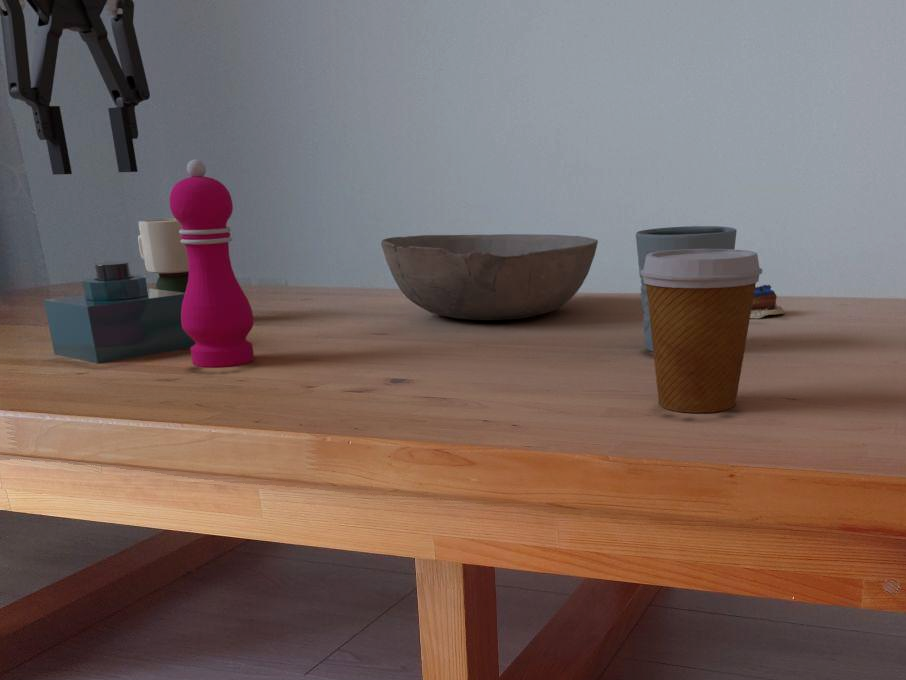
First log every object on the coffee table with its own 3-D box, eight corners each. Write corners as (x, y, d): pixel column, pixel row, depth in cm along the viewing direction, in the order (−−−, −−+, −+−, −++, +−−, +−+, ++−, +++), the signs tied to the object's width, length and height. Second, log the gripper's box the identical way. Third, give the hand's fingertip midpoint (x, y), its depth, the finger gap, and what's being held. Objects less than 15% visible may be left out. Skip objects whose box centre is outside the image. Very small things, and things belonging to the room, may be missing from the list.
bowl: (347, 327, 126) (339, 244, 122) (449, 297, 149) (445, 227, 146) (550, 336, 116) (548, 245, 112) (625, 302, 139) (625, 227, 136)
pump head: (107, 285, 109) (104, 265, 109) (91, 283, 112) (88, 263, 111) (138, 281, 112) (135, 262, 111) (122, 279, 114) (118, 260, 113)
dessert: (749, 314, 122) (736, 271, 123) (719, 340, 127) (707, 298, 129) (800, 313, 125) (787, 271, 127) (769, 338, 131) (757, 298, 132)
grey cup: (751, 348, 106) (757, 228, 101) (674, 360, 101) (677, 235, 96) (690, 335, 114) (693, 224, 109) (616, 345, 109) (616, 230, 105)
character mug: (233, 320, 134) (220, 217, 129) (195, 328, 128) (180, 221, 123) (171, 317, 138) (156, 217, 134) (132, 325, 132) (114, 221, 128)
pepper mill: (174, 363, 106) (142, 161, 99) (235, 353, 111) (209, 159, 104) (210, 371, 102) (179, 159, 94) (272, 360, 106) (247, 158, 99)
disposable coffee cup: (780, 405, 82) (789, 253, 78) (690, 424, 77) (695, 262, 73) (702, 386, 89) (706, 246, 85) (616, 402, 85) (616, 254, 80)
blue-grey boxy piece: (97, 363, 107) (83, 287, 104) (54, 354, 113) (39, 281, 111) (197, 346, 116) (187, 274, 113) (152, 338, 122) (141, 270, 119)
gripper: (-36, -97, 90) (18, 176, 99) (163, -68, 104) (196, 170, 112) (-69, -83, 95) (-14, 176, 103) (126, -57, 109) (161, 170, 117)
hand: (96, 172), depth 108 cm, fingers open, 7 cm apart
